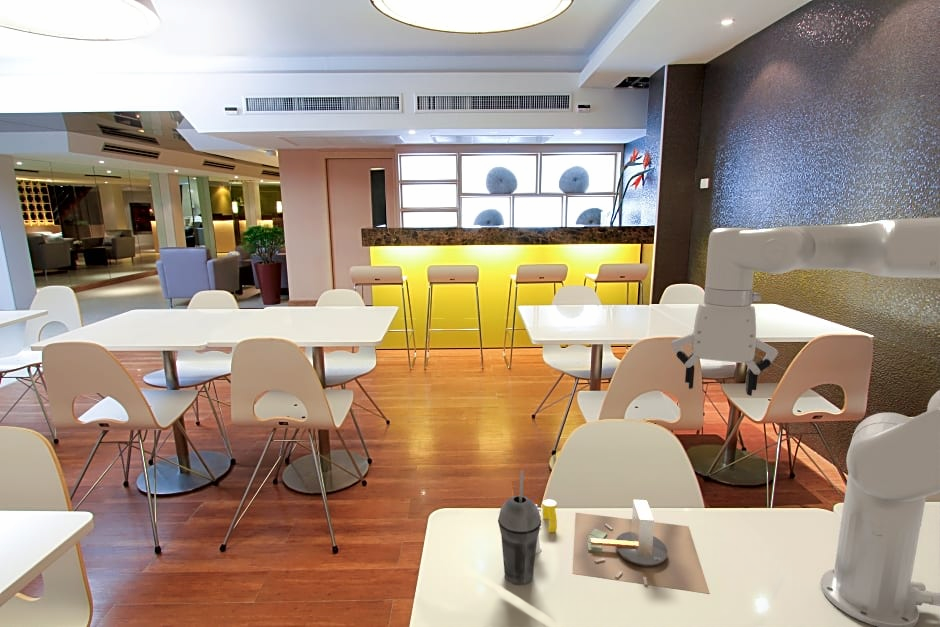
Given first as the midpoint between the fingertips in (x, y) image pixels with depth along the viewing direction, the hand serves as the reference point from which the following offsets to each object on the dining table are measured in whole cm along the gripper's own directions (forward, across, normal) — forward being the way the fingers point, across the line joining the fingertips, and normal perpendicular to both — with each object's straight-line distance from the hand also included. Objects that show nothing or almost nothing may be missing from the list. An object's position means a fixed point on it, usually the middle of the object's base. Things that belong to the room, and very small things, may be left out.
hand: (719, 389), depth 94 cm
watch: (+31, +29, +9) cm, 43 cm away
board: (+30, +12, +10) cm, 34 cm away
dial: (+29, +13, +12) cm, 34 cm away
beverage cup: (+31, +30, +26) cm, 50 cm away
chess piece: (+31, +29, +17) cm, 46 cm away
